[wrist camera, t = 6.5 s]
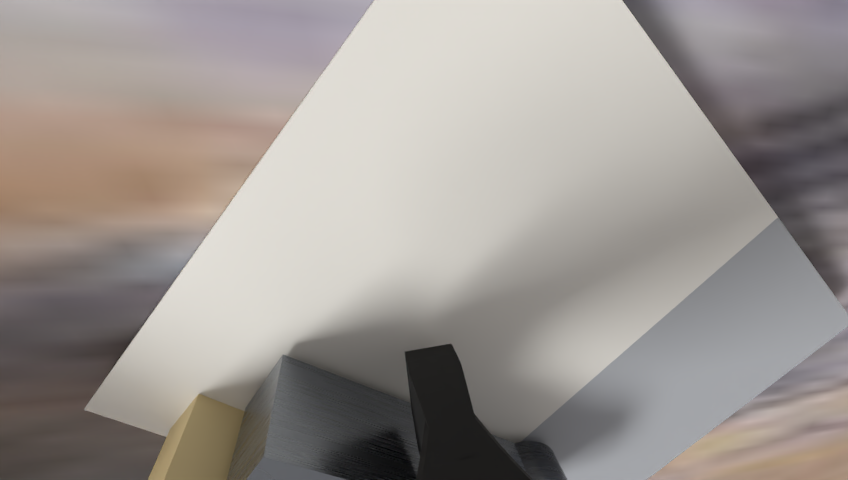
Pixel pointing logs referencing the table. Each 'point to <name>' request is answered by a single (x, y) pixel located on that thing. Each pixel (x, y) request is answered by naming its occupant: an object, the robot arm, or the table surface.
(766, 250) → the door board
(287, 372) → the swing bar
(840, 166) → the table surface
